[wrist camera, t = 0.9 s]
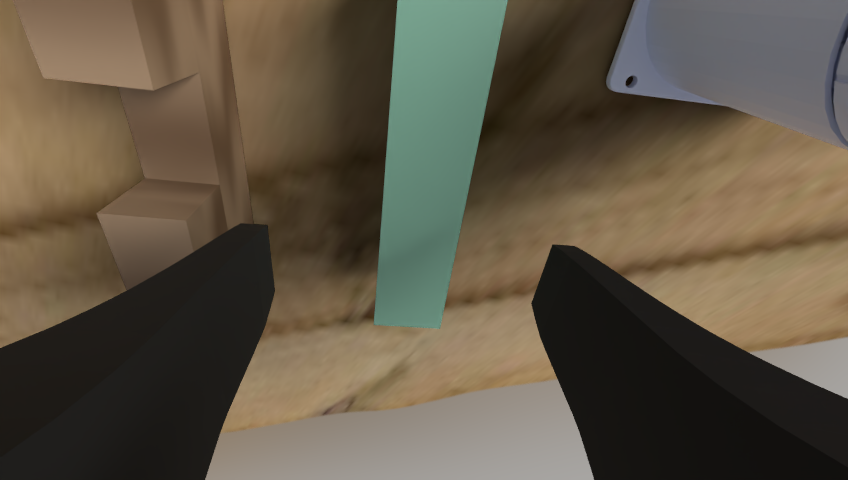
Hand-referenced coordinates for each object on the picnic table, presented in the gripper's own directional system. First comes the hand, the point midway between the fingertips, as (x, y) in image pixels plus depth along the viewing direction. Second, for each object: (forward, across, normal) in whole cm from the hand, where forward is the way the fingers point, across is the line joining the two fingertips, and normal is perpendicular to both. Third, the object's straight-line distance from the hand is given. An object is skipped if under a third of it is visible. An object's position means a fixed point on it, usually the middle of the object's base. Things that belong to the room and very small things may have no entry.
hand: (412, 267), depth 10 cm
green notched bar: (+10, -1, 0) cm, 10 cm away
